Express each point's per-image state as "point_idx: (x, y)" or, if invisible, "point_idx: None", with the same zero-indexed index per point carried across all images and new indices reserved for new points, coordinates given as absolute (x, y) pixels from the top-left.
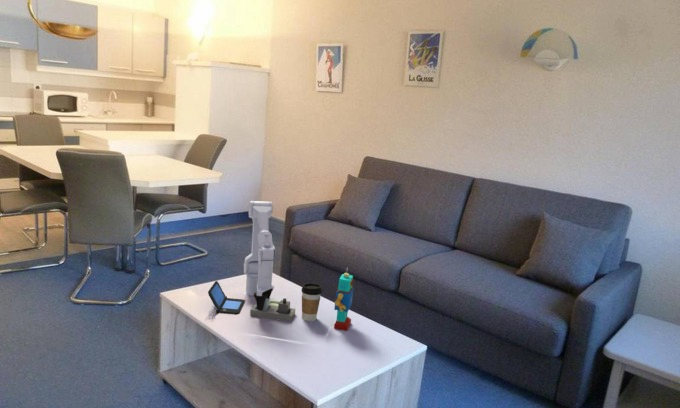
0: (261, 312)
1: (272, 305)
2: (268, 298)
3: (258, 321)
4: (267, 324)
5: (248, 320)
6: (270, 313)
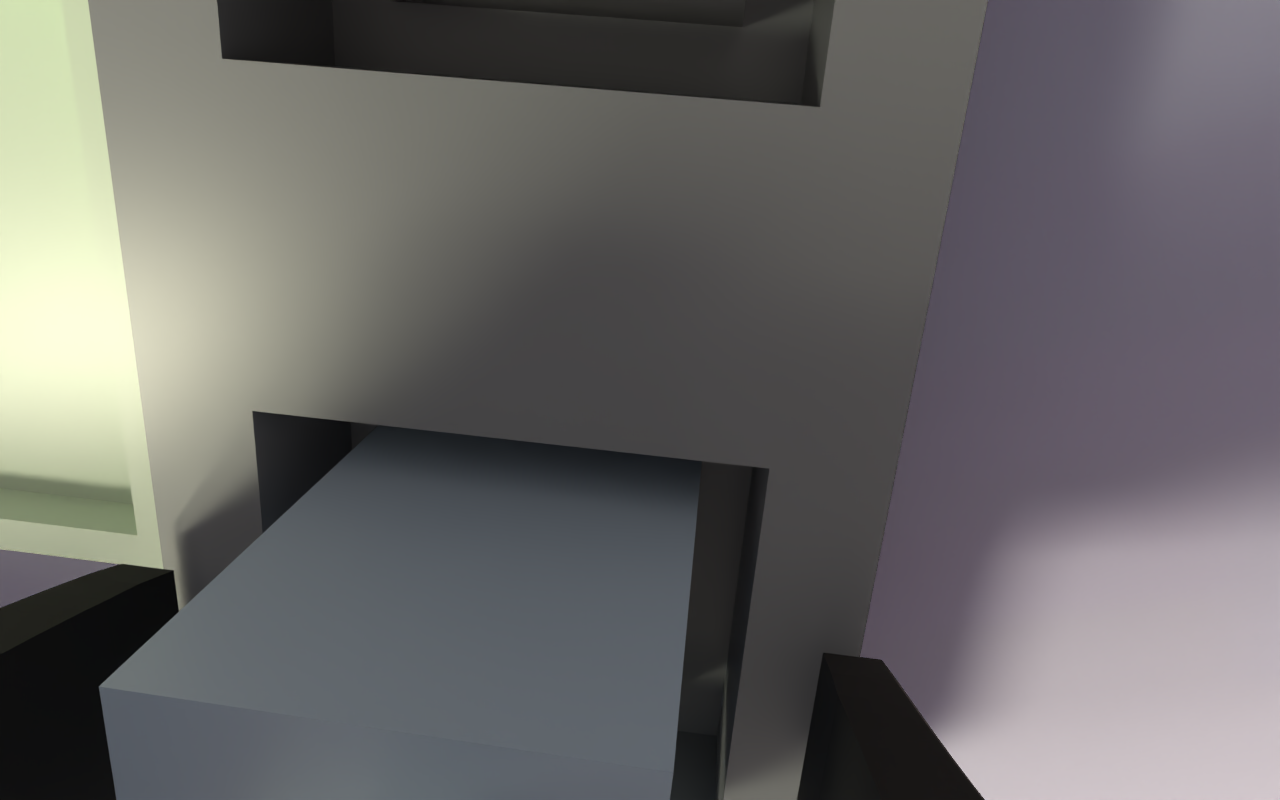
0: (851, 627)
1: (162, 367)
2: (128, 745)
3: (1065, 554)
4: (1272, 269)
5: (1036, 784)
6: (915, 310)
